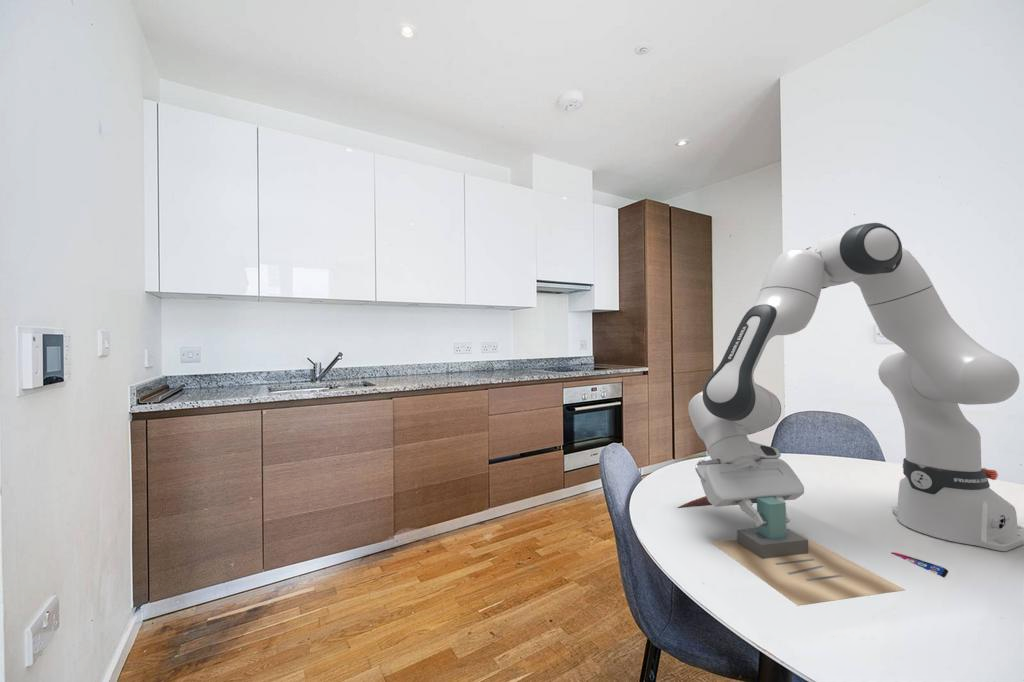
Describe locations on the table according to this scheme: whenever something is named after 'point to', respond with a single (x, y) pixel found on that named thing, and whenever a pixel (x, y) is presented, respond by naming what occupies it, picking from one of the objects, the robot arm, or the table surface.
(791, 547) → the sanding block
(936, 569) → the blue red thin stick
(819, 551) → the board
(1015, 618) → the table surface
